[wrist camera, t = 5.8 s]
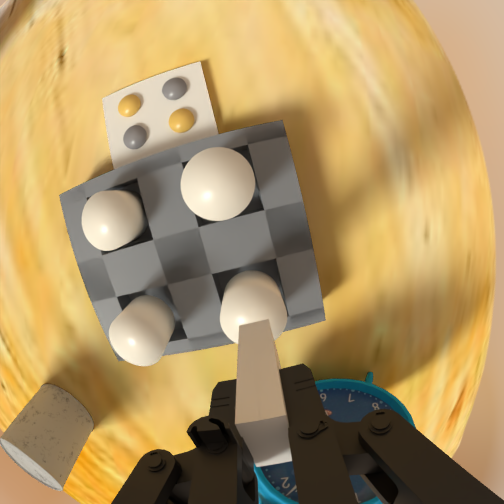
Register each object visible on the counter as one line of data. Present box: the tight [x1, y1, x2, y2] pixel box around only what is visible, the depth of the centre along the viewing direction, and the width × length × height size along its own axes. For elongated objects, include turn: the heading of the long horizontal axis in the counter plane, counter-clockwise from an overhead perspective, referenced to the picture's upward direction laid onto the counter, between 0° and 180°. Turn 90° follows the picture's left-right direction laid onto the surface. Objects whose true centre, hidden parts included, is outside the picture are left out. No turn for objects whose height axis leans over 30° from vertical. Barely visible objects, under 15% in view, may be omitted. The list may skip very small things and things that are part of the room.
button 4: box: [220, 270, 287, 344], centre depth 17 cm, size 4×4×4 cm
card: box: [102, 62, 219, 169], centre depth 19 cm, size 7×9×1 cm
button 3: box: [181, 147, 255, 221], centre depth 16 cm, size 4×4×4 cm
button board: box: [59, 120, 326, 361], centre depth 20 cm, size 15×18×3 cm
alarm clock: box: [254, 372, 416, 504], centre depth 16 cm, size 17×10×20 cm, turn 95°
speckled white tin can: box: [0, 384, 94, 491], centre depth 20 cm, size 10×10×12 cm
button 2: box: [109, 295, 175, 366], centre depth 18 cm, size 4×4×4 cm
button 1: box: [82, 190, 148, 251], centre depth 18 cm, size 4×4×4 cm
